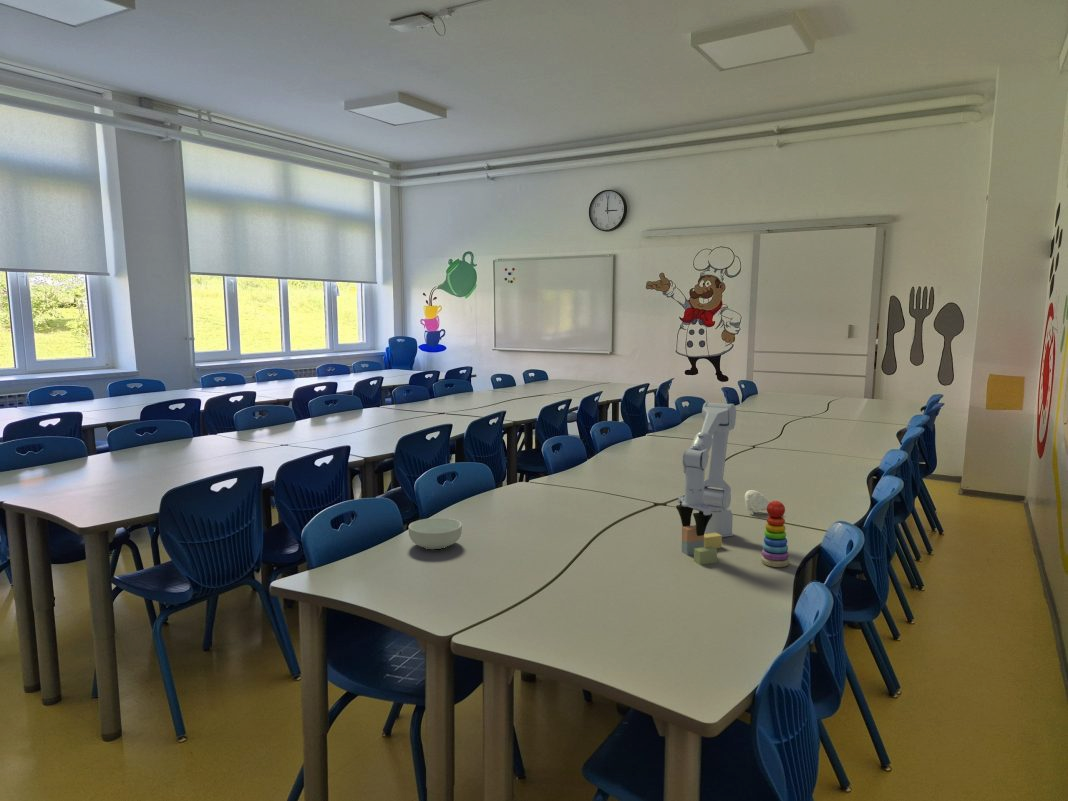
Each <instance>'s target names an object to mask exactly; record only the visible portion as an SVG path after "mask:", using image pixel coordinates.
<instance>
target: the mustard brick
mask: <svg viewBox="0 0 1068 801" xmlns="http://www.w3.org/2000/svg"><path fill="white" fill-rule="evenodd" d="M722 539H723V537H722V535H720V534H718V533H710V534H704V547H709V546H712V547H714V548H715V549H719V548H722V544H723V543H722Z"/></svg>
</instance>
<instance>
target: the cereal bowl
mask: <svg viewBox="0 0 1068 801" xmlns="http://www.w3.org/2000/svg"><path fill="white" fill-rule="evenodd" d="M462 530H463V524H462V522H461V521H459V520H457V519H453V518H447V517H430V518H423V519H419V520H416V521H412V522H410V523H409V525H408V536H409V538H410V540H411V541H412V543H413V544H415V545H417V546H419V547H422V548H423V547H424V548H427V549H441V548H444V547H446V548H448V547H450V546H452V545H453V544H455V543H456V542H458V540H460V538H461V537H462V536H461V535H462V532H463V531H462ZM447 546H448V547H447ZM424 548H423V549H424ZM427 549H426V550H427ZM441 550H442V549H441Z"/></svg>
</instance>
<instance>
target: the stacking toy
mask: <svg viewBox="0 0 1068 801" xmlns="http://www.w3.org/2000/svg"><path fill="white" fill-rule="evenodd" d="M766 512H767V514H768V516H767V517H766V523H767V524H765V530H764V537H763V543H762V548H763V549H762V550H761V556H760V561H761V563H763V565H766V566H768V567H772V568H784V567H786V566H789V564H790V559H789V557H790V554H789V551H788V550H789V545H787V544H788V539H787V538H786V536H787V533H786V530H787V529H786V526H785V523H786V520H785V518H784V517H783V516H784V514H786V513H785V512H786V507H785V505H784V504H783V503H782V502H781V501H779V500H771V502H770V503H769V504H768V505H767V510H766Z"/></svg>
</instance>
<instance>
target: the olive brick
mask: <svg viewBox="0 0 1068 801" xmlns="http://www.w3.org/2000/svg"><path fill="white" fill-rule="evenodd" d="M693 562H695V563H696V564H698V565H699V566H701V565H706V564H713V563H717V562H718V548H714V547H712V546H709V547H702V548H695V549H694V554H693Z"/></svg>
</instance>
